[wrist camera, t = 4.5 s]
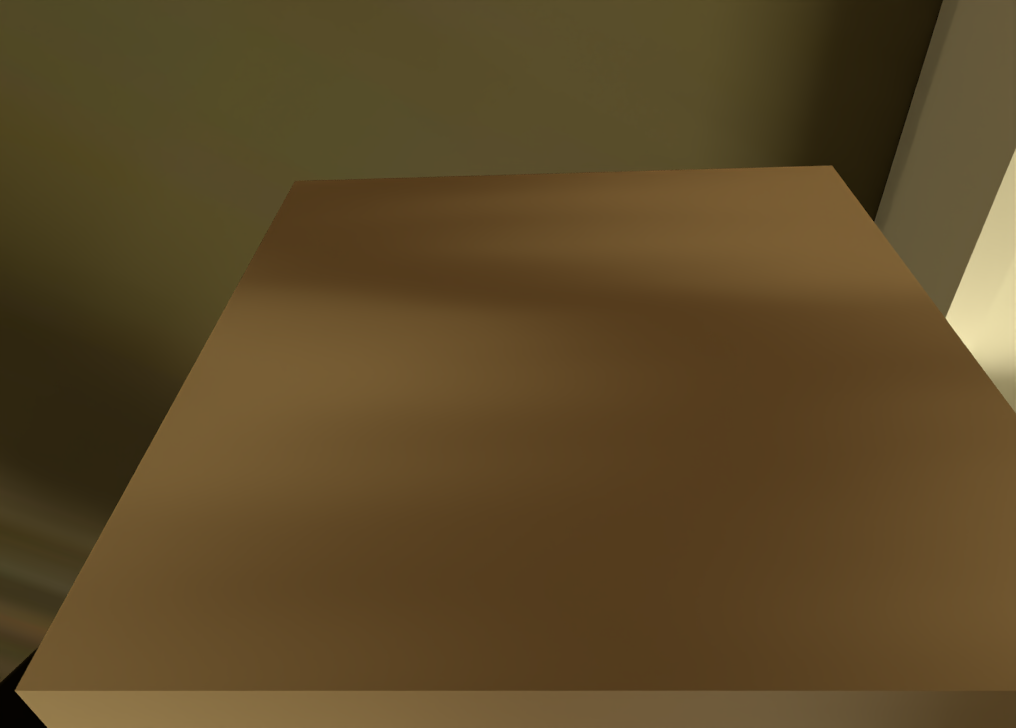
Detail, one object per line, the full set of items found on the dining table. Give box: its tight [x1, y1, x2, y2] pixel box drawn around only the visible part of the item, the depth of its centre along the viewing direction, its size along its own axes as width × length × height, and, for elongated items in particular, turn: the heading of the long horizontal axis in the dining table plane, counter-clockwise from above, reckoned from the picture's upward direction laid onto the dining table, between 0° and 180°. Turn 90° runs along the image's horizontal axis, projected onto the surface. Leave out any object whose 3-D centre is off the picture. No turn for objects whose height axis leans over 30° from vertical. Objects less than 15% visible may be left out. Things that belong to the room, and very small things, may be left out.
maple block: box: [15, 165, 1016, 728], centre depth 7 cm, size 5×5×5 cm
